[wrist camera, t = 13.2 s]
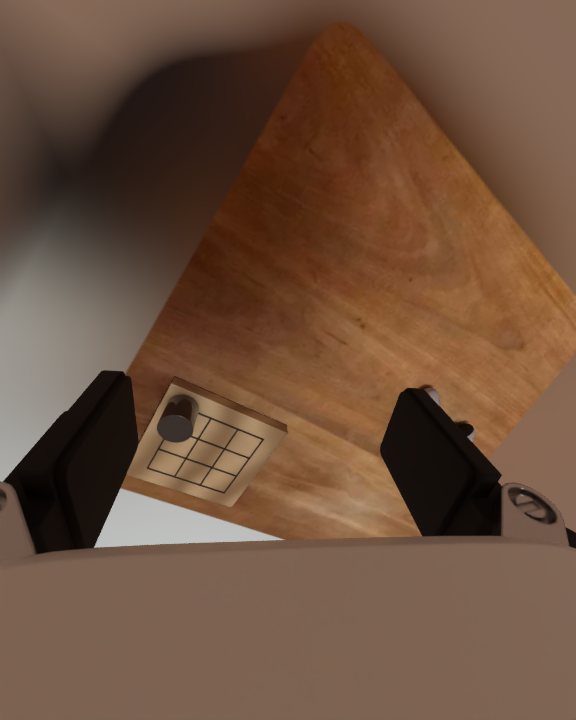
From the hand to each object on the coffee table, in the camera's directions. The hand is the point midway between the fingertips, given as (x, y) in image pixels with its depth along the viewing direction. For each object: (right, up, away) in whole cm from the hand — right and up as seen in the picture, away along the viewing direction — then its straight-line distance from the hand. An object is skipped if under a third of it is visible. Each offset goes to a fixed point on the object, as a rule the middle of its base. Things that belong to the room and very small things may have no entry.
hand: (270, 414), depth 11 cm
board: (-10, -9, +28) cm, 31 cm away
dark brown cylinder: (-11, -4, +23) cm, 26 cm away
